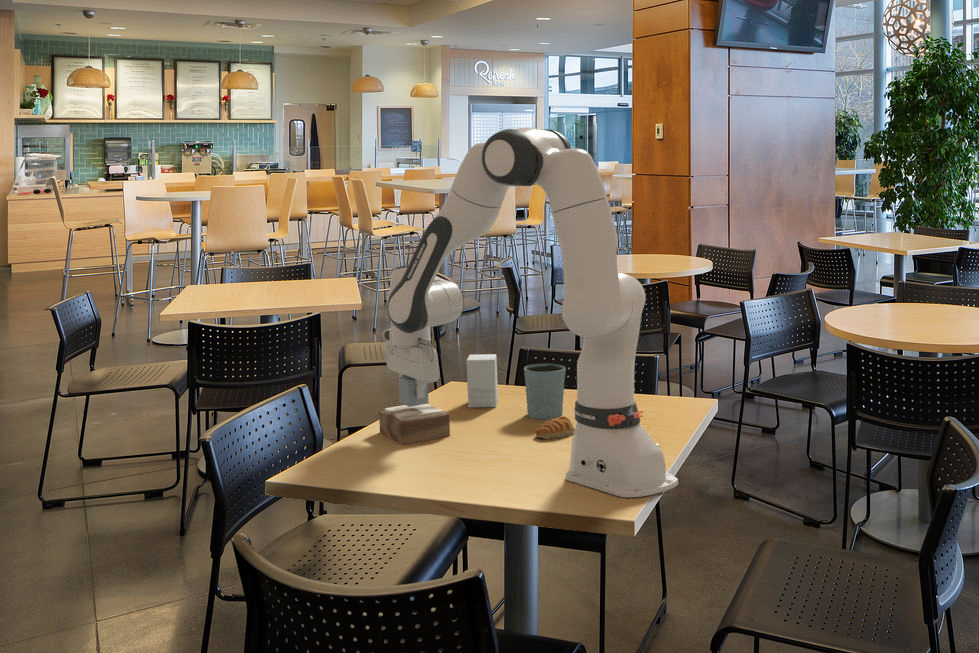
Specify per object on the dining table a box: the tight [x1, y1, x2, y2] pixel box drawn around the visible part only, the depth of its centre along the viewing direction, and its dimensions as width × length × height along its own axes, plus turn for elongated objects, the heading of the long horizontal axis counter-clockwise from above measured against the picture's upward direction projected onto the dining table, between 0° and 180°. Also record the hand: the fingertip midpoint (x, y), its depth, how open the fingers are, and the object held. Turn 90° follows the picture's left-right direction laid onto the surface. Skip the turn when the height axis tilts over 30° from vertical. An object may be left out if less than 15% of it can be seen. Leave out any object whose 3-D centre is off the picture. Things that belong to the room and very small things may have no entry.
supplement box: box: [466, 353, 499, 408], centre depth 230 cm, size 7×7×13 cm
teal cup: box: [523, 363, 567, 421], centre depth 219 cm, size 10×10×12 cm
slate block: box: [397, 376, 430, 407], centre depth 204 cm, size 5×5×6 cm
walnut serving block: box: [378, 404, 451, 445], centre depth 205 cm, size 12×12×6 cm
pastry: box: [535, 415, 576, 440], centre depth 202 cm, size 9×7×4 cm
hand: (413, 394), depth 204 cm, fingers closed on slate block, 5 cm apart
